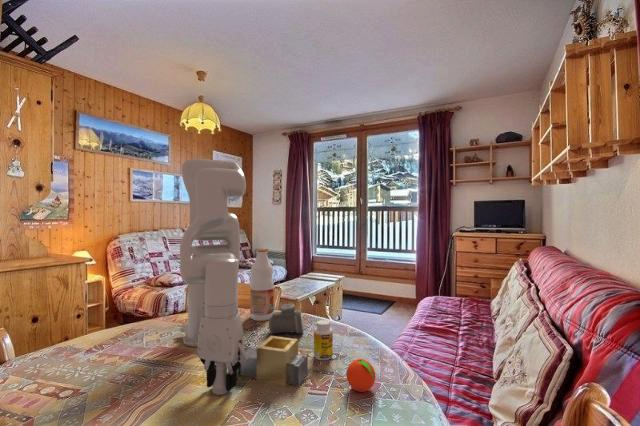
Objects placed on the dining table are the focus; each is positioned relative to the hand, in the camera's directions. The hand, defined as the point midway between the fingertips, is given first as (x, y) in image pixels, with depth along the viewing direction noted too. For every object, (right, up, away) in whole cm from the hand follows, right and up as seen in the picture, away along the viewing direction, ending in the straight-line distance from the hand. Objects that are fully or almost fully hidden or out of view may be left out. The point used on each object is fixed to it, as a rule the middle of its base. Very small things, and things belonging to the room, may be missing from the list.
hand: (221, 385), depth 74 cm
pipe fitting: (+11, -2, +36) cm, 38 cm away
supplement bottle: (+24, -1, +17) cm, 30 cm away
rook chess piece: (0, -1, 0) cm, 1 cm away
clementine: (+33, -1, 0) cm, 34 cm away
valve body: (+11, -1, +7) cm, 13 cm away
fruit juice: (0, -2, +53) cm, 53 cm away
